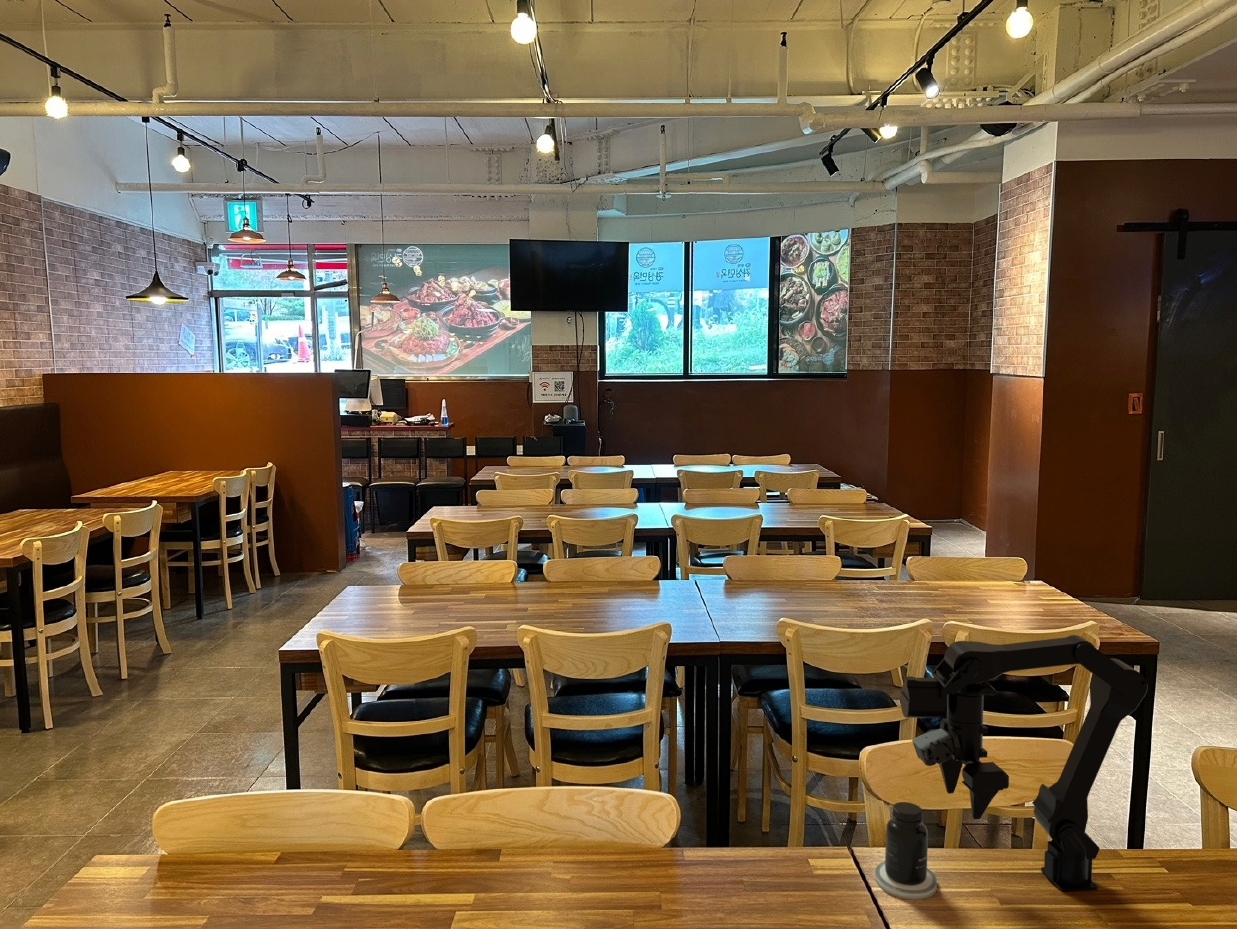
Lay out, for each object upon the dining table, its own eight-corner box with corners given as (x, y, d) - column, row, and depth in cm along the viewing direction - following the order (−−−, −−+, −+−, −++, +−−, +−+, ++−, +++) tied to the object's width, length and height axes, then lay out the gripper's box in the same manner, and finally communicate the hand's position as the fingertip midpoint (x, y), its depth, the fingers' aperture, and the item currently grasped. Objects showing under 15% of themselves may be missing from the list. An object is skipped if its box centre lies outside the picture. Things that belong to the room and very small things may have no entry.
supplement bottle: (929, 889, 143) (931, 820, 142) (886, 884, 144) (888, 816, 143) (923, 866, 149) (925, 800, 148) (883, 862, 151) (884, 797, 150)
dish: (921, 864, 152) (921, 858, 152) (947, 898, 142) (947, 890, 142) (866, 867, 152) (866, 861, 151) (888, 901, 142) (888, 894, 141)
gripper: (896, 700, 155) (895, 783, 156) (944, 742, 136) (943, 836, 137) (955, 697, 156) (954, 780, 157) (1011, 738, 137) (1009, 832, 138)
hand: (962, 805), depth 147 cm, fingers open, 9 cm apart
